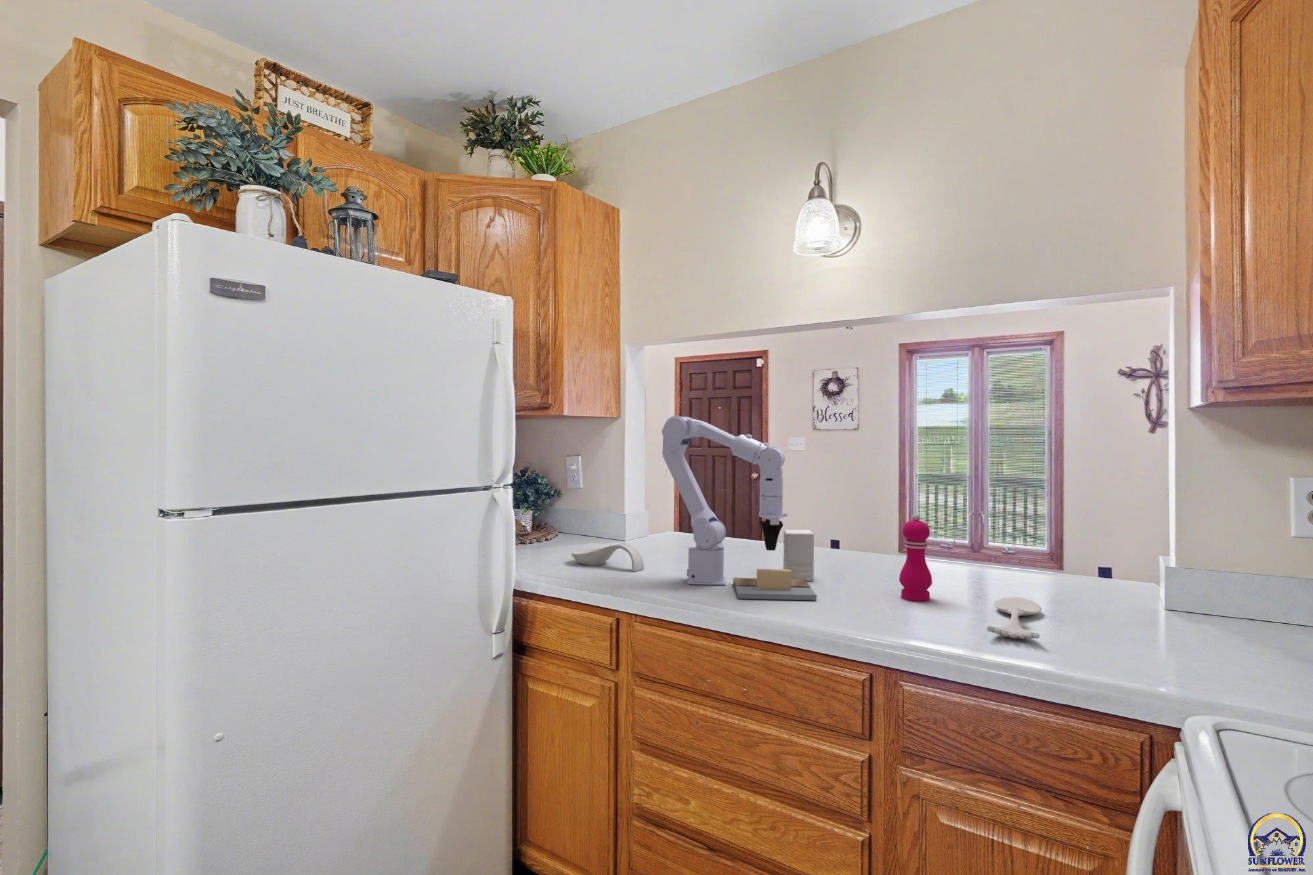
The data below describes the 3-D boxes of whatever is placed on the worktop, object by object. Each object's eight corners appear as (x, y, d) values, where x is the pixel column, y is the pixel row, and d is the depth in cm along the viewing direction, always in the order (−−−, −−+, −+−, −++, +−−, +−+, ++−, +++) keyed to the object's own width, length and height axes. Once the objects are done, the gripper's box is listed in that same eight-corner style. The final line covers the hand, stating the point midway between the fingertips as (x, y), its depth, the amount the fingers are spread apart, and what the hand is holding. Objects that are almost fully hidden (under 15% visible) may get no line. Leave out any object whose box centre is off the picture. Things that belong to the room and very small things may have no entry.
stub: (738, 598, 152) (738, 574, 152) (735, 591, 159) (736, 568, 159) (816, 600, 151) (816, 575, 151) (810, 592, 158) (810, 569, 158)
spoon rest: (563, 564, 191) (563, 540, 191) (589, 558, 201) (589, 535, 201) (627, 575, 178) (627, 548, 178) (652, 568, 187) (652, 543, 187)
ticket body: (735, 591, 159) (735, 584, 159) (733, 584, 167) (733, 577, 167) (810, 593, 158) (810, 586, 158) (804, 585, 166) (804, 578, 166)
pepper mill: (897, 599, 153) (897, 514, 153) (901, 593, 159) (902, 511, 159) (930, 603, 149) (931, 516, 149) (933, 597, 156) (934, 513, 156)
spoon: (984, 643, 122) (984, 624, 122) (995, 605, 149) (995, 590, 149) (1040, 651, 117) (1040, 632, 117) (1041, 611, 145) (1041, 595, 145)
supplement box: (810, 575, 178) (810, 529, 178) (813, 581, 171) (814, 533, 171) (782, 574, 179) (783, 528, 179) (785, 580, 172) (785, 532, 172)
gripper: (792, 498, 156) (791, 555, 156) (782, 493, 171) (782, 545, 171) (762, 498, 157) (761, 554, 157) (755, 493, 171) (755, 544, 171)
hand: (770, 549), depth 164 cm, fingers closed
